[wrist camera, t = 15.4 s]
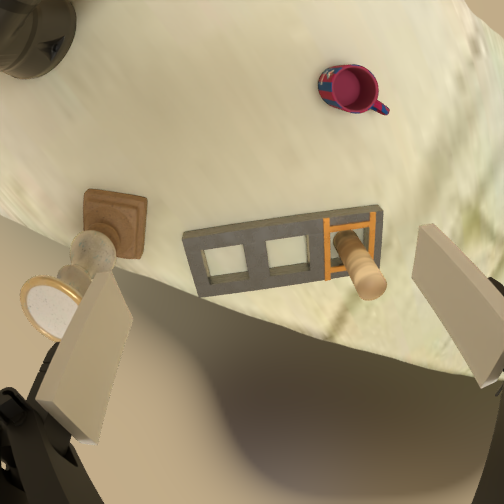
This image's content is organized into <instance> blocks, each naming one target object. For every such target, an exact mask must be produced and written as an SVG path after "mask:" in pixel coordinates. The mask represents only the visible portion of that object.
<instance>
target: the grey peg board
mask: <svg viewBox="0 0 504 504" xmlns="http://www.w3.org/2000/svg"><path fill="white" fill-rule="evenodd" d="M358 228H364V247H365V248H366V250H367V251H368V253H369V254H370V256H371V257H372V259H373V260H374V262H375V264H376V265H377V267H378V268H380V257H381V244H382V229H383V210H382V209H381V208H380V207H379V205H371V206H363V207H355V208H347V209H339V210H331V211H324V212H316V213H309V214H301V215H294V216H287V217H280V218H272V219H266V220H259V221H252V222H245V223H238V224H232V225H225V226H219V227H212V228H206V229H200V230H193V231H187V232H184V234H183V237H182V241H183V245H184V248H185V252H186V256H187V259H188V262H189V266H190V269H191V273H192V276H193V279H194V283H195V286H196V289H197V293H198V296H199V298H201V297H209V296H216V295H224V294H232V293H239V292H246V291H254V290H261V289H268V288H275V287H281V286H288V285H295V284H301V283H308V282H314V281H320V280H325V281H327V280H331V279H333V278H339V277H345V276H349V274H348V272H347V270H346V268H345V266H344V264H343V262H342V260H341V258H334V259H330V232H337V231H344V230H351V229H358ZM302 235H306V242H307V259H308V263H301V264H295V265H288V266H281V267H274V268H269V265H268V257H267V250H266V243H265V241H267V240H274V239H281V238H288V237H295V236H302ZM240 244H243V245H244V250H245V256H246V261H247V267H248V271H246V272H239V273H232V274H225V275H218V276H211V277H210V273H209V269H208V265H207V261H206V257H205V253H204V250H206V249H213V248H220V247H226V246H233V245H240Z"/></svg>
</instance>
